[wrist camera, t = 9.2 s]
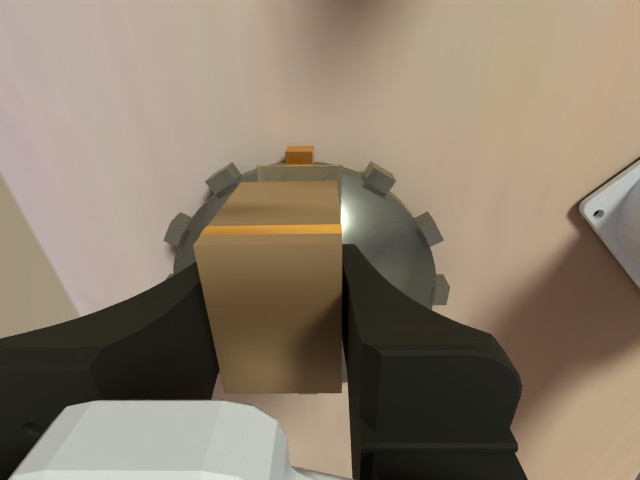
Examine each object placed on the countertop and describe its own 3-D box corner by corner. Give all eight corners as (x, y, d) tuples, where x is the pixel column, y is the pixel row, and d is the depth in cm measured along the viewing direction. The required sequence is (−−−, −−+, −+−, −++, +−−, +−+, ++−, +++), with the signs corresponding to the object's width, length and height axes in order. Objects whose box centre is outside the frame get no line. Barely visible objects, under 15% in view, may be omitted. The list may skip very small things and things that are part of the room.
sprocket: (424, 380, 23) (445, 450, 19) (195, 377, 23) (166, 446, 19) (465, 145, 16) (515, 172, 12) (139, 147, 16) (73, 174, 12)
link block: (337, 294, 15) (342, 393, 10) (255, 295, 15) (224, 393, 10) (337, 179, 12) (343, 242, 8) (240, 181, 13) (192, 244, 8)
